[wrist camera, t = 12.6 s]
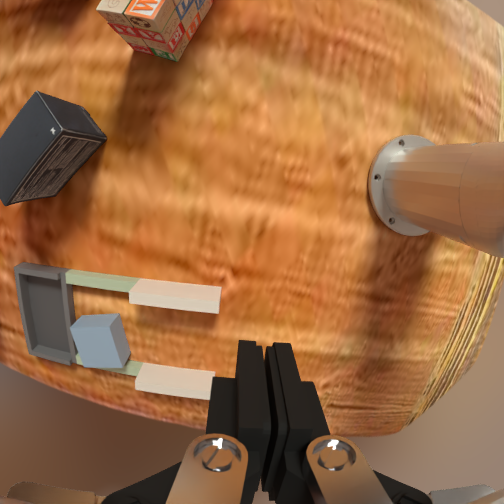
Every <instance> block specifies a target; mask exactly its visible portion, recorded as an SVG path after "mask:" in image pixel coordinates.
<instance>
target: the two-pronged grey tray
mask: <svg viewBox="0 0 504 504" xmlns="http://www.w3.org/2000/svg"><path fill="white" fill-rule="evenodd" d="M14 271H15V280H16V288H17V295H18V301H19V307H20V313H21V319H22V324H23V329H24V334H25V338H26V343H27V347H28V351H29V354H31V355H34V356H37V357H41V358H44V359H48V360H51V361H55V362H58V363H62V364H66V365H71V364H72V363H76V364H80V365H83V363H82V361H81V358H80V355H79V353H78V350H77V347H76V345H75V342H74V339H73V336H72V333H71V330H70V327H71V326H72V325H73V324H74V323H75V322H76V319H75V310H74V301H73V290H72V284H74V285H80V286H86V287H93V288H100V289H107V290H114V291H121V292H128V293H129V303H132V304H139V305H147V306H154V307H162V308H171V309H179V310H188V311H197V312H207V313H217V314H219V306H220V299H221V288H222V287H217V286H207V285H197V284H188V283H178V282H169V281H160V280H152V279H143V278H135V277H126V276H118V275H111V274H103V273H95V272H88V271H81V270H73V269H66V268H59V267H53V266H46V265H39V264H33V263H27V262H23V263H21V264H19V265H17V266H15V267H14ZM97 369H102V370H107V371H112V372H117V373H122V374H127V375H133V376H137V378H136V380H135V387H136V390H141V391H147V392H153V393H159V394H166V395H173V396H180V397H188V398H197V399H206V400H210V393H211V385H212V378H213V376H214V377H215V372H214V371H204V370H195V369H186V368H178V367H171V366H163V365H157V364H150V363H144V362H137V361H132V360H127V361H126V363H125V365H124V366H123V368H97Z"/></svg>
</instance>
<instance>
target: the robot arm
mask: <svg viewBox="0 0 504 504" xmlns="http://www.w3.org/2000/svg"><path fill="white" fill-rule="evenodd" d="M399 143H400V145H399ZM374 176H376V179H374ZM368 189H369V195H370V200H371V203H372V206H373V208H374V210H375V212H376V214H377V216H378V217H379V218H380V220H381V221H382V222H383V223H384V224H385V225H386V226H387V227H389V228H390V229H391V230H393V231H395V232H397V233H400V234H402V235H407V236H420V235H423V234H426V233H428V232H430V231H431V232H434V233H436V234H439V235H442V236H444V237H447V238H450V239H452V240H455V241H457V242H460V243H462V244H465V245H468V246H470V247H473V248H475V249H477V250H480V251H482V252H485V253H487V254H490V255H492V256H496V257H501V258H504V142H485V143H463V144H447V145H435V144H434V143H433V142H431V141H430V140H428V139H426V138H424V137H421V136H417V135H404V136H399V137H396V138H394V139H391V140H390V141H388V142H387V143H386V144H384V145H383V146H382V147H381V149H380V150H379V151H378V152H377V154H376V156H375V157H374V159H373V162H372V165H371V168H370V172H369V178H368ZM389 219H390V221H389ZM260 478H261V484H262V491H263V492H268V493H269V501H275V503H276V504H504V489H501V490H498V491H496V492H495V490H494V489H492V488H491V487H490V486H487V485H474V486H469V487H462V488H454V489H446V490H437V491H431V492H430V493H429V494H427V495H426V494H425V493H423V492H422V491H420V490H418V489H415V488H413V487H410V486H408V485H406V484H403V483H401V482H398V481H396V480H394V479H392V478H390V477H387V476H385V475H383V474H381V473H378V472H376V471H374V470H372V468H371V467H370V465H369V464H368V462H367V460H366V458H365V457H364V455H363V454H362V452H361V450H360V449H359V448H358V446H357V445H356V444H355V443H354V442H352V441H350V440H349V439H347V438H344V437H341V436H335V435H330V432H329V429H328V425H327V422H326V419H325V416H324V413H323V410H322V407H321V404H320V401H319V397H318V394H317V391H316V388H315V385H314V383H313V382H311V381H301V379H300V376H299V372H298V368H297V365H296V361H295V357H294V354H293V350H292V347H291V344H290V343H277V342H274V343H273V345H272V346H267V347H266V353H265V359H264V358H263V349H262V346H256V341H246V340H239V344H238V354H237V364H236V374H235V378H225V377H214V376H213V378H212V385H211V393H210V402H209V410H208V418H207V427H206V434H205V435H203V436H200V437H197V438H196V439H195V440H193V441H192V442H191V443H190V445H189V447H188V448H187V450H186V453H185V456H184V458H183V461H182V462H179V463H177V464H175V465H173V466H172V467H170V468H167V469H165V470H163V471H161V472H159V473H157V474H155V475H153V476H151V477H149V478H146V479H144V480H142V481H140V482H138V483H135V484H133V485H131V486H128V487H126V488H124V489H121V490H119V491H116V492H114V493H112V494H110V495H109V496H107V497H104V496H96V495H95V493H94V492H85V491H78V490H70V489H64V488H58V487H52V486H47V485H42V484H37V483H33V482H20V483H17V484H15V485H14V486H12V487H11V488H10V490H9V492H8V494H7V497H4V496H0V504H252V502H253V498H254V494H255V492H256V491H257V490H258V486H259V481H260Z"/></svg>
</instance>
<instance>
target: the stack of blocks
mask: <svg viewBox="0 0 504 504" xmlns="http://www.w3.org/2000/svg"><path fill="white" fill-rule="evenodd" d="M213 1H214V0H101V2H100V4H99V5H98V7H97V9H96V10H97V11H98V12H99V13H100V14H101V15H102V16H103V17H104V18H105V19H106V20H107V21H108V24H109V25H110V26H111V27H112V28H113V29H114V31H116V32H117V33H118V34H119V35H120V36H121V37H122V38H123V39H124V40H125V41H126V42H127V43H128V44H129V45H130V46H131V47H132V49H133V50H135V51H139V52H143V53H147V54H151V55H156V56H159V57H163V58H166V59H169V60H173V61H176V62H178V61H179V59H180V57H181V55H182V53H183V52H184V50H185V48H186V46H187V44H188V43H189V41H190V40H191V39H192V37H193V35H194V33H195V32H196V30H197V28H198V27H199V25H200V23H201V22H202V20H203V19H204V17H205V15H206V14H207V12H208V10H209V9H210V7H211V6H212V2H213Z"/></svg>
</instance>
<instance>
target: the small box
mask: <svg viewBox="0 0 504 504" xmlns="http://www.w3.org/2000/svg"><path fill="white" fill-rule="evenodd" d="M106 140H107V136H105V134H104V133H103V132H102V131H101V129H100V128H99V127H98V126H97V124H96V123H95V122H94V120H93V119H92V118H91V117H90V114H89V113H88V112H87V111H86V110H85V109H84V108H83V107H82V106H79V105H76V104H73V103H70V102H67V101H64V100H62V99H59V98H56V97H53V96H50V95H47V94H44V93H41V92H39V91H36V92H35V93H34V94H33V95H32V96H31V98H30V99H29V100H28V101H27V103H26V104H25V105H24V106H23V108H22V109H21V110H20V112H19V113H18V114H17V116H16V117H15V118H14V120H13V121H12V122H11V124H10V125H9V127H8V128H7V129H6V131H5V132H4V134H3V135H2V137H1V138H0V199H1V201H2V202H3V204H4V206H8V205H11V204H15V203H19V202H24V201H29V200H35V199H40V198H47V197H55V196H56V195H57V194H58V192H59V191H60V190H61V189H62V188H63V187H64V185H65V184H66V183H67V182H68V181H69V180H70V179H71V177H72V176H73V175H74V174H75V173H76V172H77V171H78V170H79V168H80V167H81V166H82V165H83V164H84V163H85V162H86V161H87V160H88V159H89V158H90V157H91V156H92V154H93V153H94V152H95V151H96V150H97V149H98V148H99V147H100V146H101V145H102V144H103V143H104V142H105V141H106Z"/></svg>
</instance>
